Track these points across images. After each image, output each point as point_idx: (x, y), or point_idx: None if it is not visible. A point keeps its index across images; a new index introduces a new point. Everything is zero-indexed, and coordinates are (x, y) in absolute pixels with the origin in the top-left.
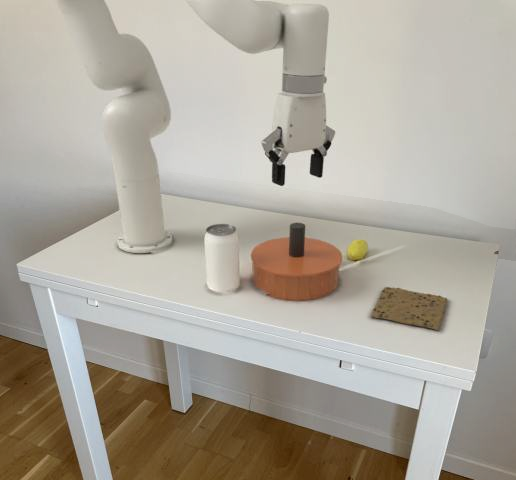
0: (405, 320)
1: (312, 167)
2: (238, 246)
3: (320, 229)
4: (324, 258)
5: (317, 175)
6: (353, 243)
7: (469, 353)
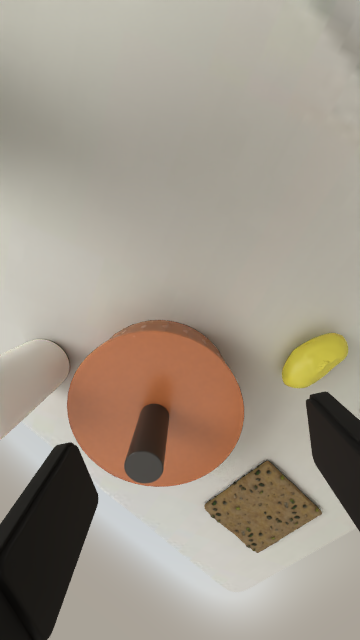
0: (233, 532)
1: (333, 444)
2: (17, 422)
3: (335, 184)
4: (195, 448)
5: (316, 454)
6: (311, 365)
7: (254, 582)
